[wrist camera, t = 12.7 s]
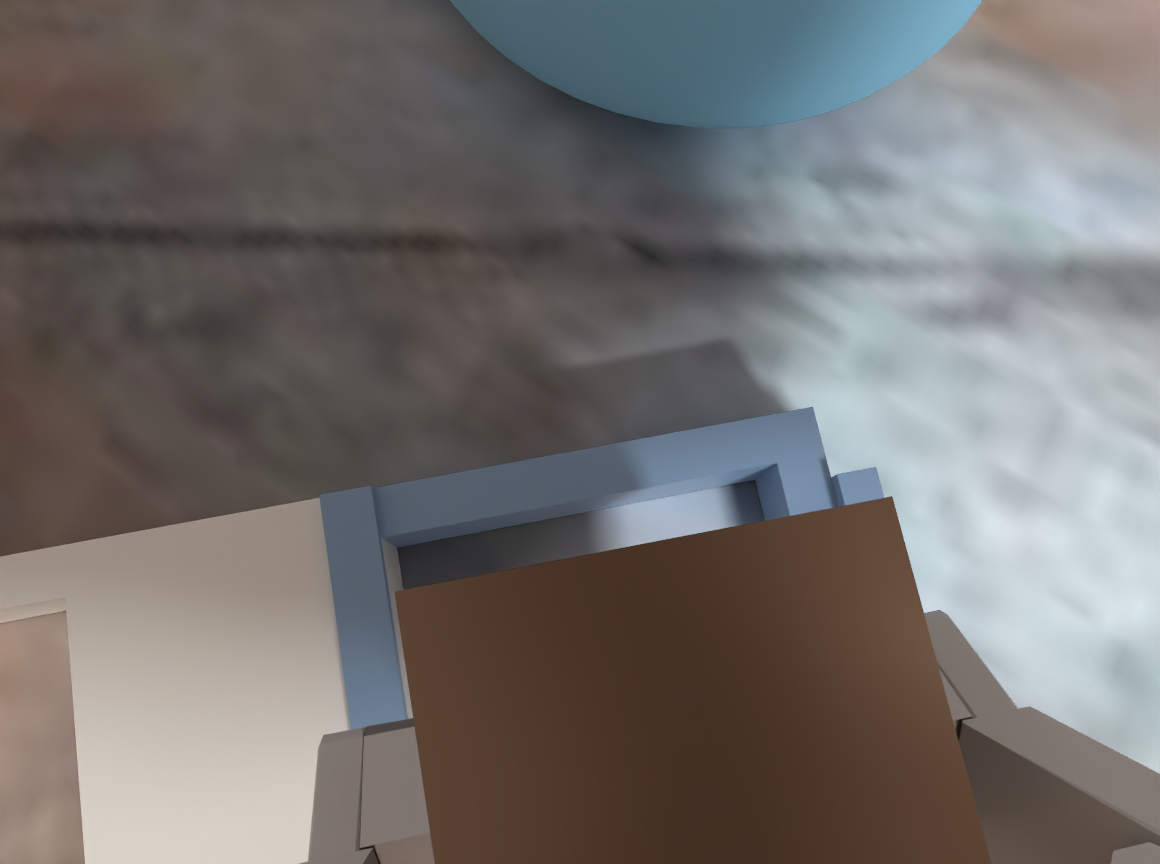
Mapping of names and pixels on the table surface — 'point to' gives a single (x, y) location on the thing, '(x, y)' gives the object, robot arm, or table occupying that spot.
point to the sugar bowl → (718, 52)
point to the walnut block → (692, 704)
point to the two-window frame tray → (315, 627)
